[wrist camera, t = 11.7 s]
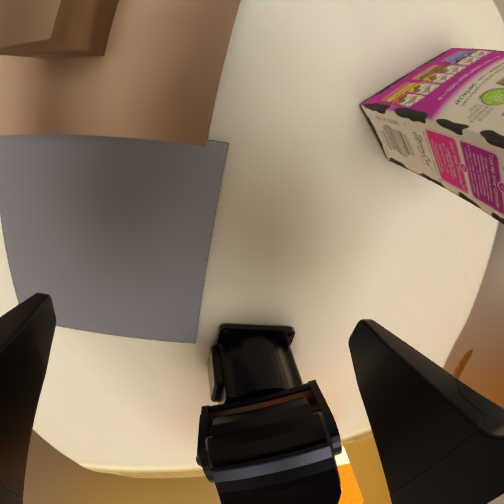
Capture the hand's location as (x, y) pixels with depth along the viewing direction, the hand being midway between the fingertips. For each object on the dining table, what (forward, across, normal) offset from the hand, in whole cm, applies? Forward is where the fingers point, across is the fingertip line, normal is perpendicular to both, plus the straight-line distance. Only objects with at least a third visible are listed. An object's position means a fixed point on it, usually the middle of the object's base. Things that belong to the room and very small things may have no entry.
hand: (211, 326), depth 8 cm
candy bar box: (+12, -14, -10) cm, 21 cm away
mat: (+12, +7, +5) cm, 15 cm away
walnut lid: (+8, +7, -10) cm, 14 cm away
